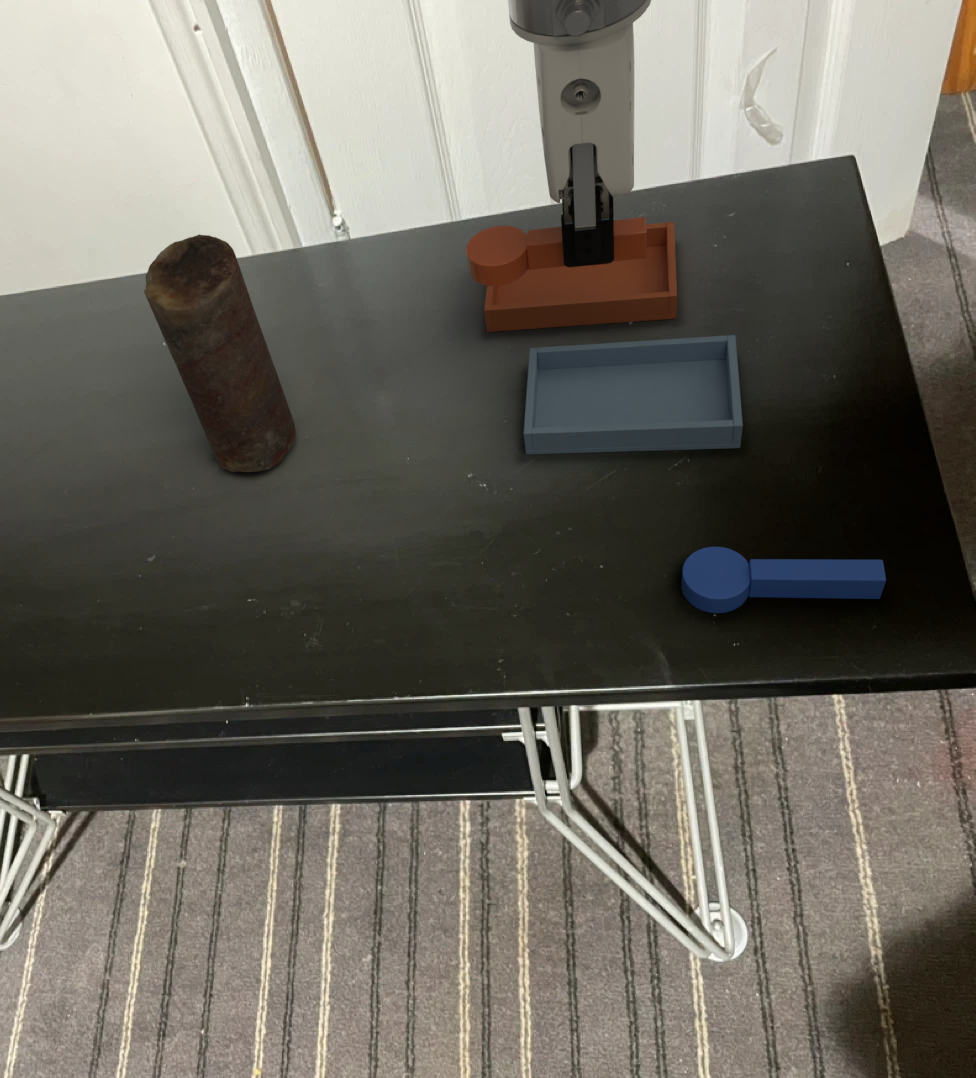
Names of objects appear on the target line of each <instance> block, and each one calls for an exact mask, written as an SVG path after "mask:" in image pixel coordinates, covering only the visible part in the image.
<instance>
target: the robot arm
mask: <svg viewBox="0 0 976 1078" xmlns="http://www.w3.org/2000/svg"><path fill="white" fill-rule="evenodd" d="M651 2H652V0H507V5H508V18H509V25H510V27H511V30H512V31H513V32H514V33H515V35H516V36H518V37H519V38H520V39H523V40H525V41H526V42H529V43H532V45H533V55H534V57H533V58H534V70H535V78H536V91H537V92H536V93H537V103H538V104H537V105H538V114H539V124H540V133H541V140H542V148H543V157H544V165H545V172H546V179H547V187H548V193H549V197H550V199H551V200H553V201H554V202H555V203H557V204H560V203H561V209H562V210H561V211H562V214H560V224H561V227H562V242H563V258H564V265H565V266H566V267H579V266H589V265H600V264H609V263H611V262H613V260H614V220H615V219H614V217H615V216H614V197H618V196H623V197H625V196H627V195H629V194H630V193H631V191H632V190H633V189H634V187H635V35H634V34H635V33H634V23H635V22H636V21H637V20H638V19H640V18H641V17H642V16H643V15H644V14H645V12H646V11H647V9H648V8H649V7H650V6H651Z"/></svg>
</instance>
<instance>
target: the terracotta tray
mask: <svg viewBox="0 0 976 1078" xmlns="http://www.w3.org/2000/svg"><path fill="white" fill-rule="evenodd" d="M646 230H647V239H646V258H643V259H633V260H623V261H613V262H611V263H609V264H600V265H589V266H579V267H566V266H563V267H553V268H543V269H533V270H529V269H528V270H527V272H526V273H525V274H524V275H523V276H522V277H521V278H519V279H518V280H516V281H514V282H511V283H509V284H505V285H500V286H487V285H486V287H485V288H486V289H485V298H484V307H483V313H484V319H485V327H486V332H487V333H492V332H505V331H506V332H507V331H521V330H534V329H548V328H549V329H550V328H561V327H562V328H563V327H565V328H566V327H577V326H578V327H579V326H591V325H606V324H620V323H622V324H623V323H635V322H636V323H637V322H648V321H662V320H663V321H664V320H676V319H677V306H678V305H677V304H678V303H677V302H678V288H677V285H678V283H677V262H676V261H677V260H676V258H677V257H676V236H675V235H676V233H675V222H674V221H668V222H657V223H646Z"/></svg>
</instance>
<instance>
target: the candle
mask: <svg viewBox="0 0 976 1078" xmlns="http://www.w3.org/2000/svg"><path fill="white" fill-rule="evenodd" d="M143 293H144V296H145V298H146V300H147V302H148V304H149V307H150V309H151V311H152V314H153V316H154V318H155V321H156V323H157V325H158V327H159V330H160V333H161V335H162V336H163V337H162V338H163V339H164V342H165V343H166V347H167V348H168V351H169V353H170V356H171V357H172V360H173V362H174V364H175V366H176V368H177V371H178V373H179V375H180V378H181V381H182V383H183V385H184V388H185V389H186V392H187V394H188V396H189V398H190V401H191V404H192V406H193V408H194V410H195V413H196V416H197V417H198V420H199V422H200V425H201V427H202V430H203V432H204V434H205V437H206V440H207V441H208V444H209V446H210V448H211V450H212V453H213V455H214V457H215V460H216V462H217V463H218V464H219V466H220V467H221V468H222V469H224V470H227V471H228V472H232V473H237V472H238V473H239V472H242V473H256V472H257V473H258V472H262V471H267V470H270V469H273V467H274V466H276V465H278V464H279V463H280V462H281V461H282V460H283V459H284V457H285V456H286V455H287V453H289V451H290V450H291V448H292V446H293V444H294V443H295V440H296V438H297V429H296V425H295V421H294V419H293V415H292V413H291V410H290V406H289V404H288V400H287V398H286V395H285V392H284V390H283V389H284V388H283V387H282V386H283V385H282V383H281V381H280V378H279V375H278V372H277V370H276V367H275V365H274V362H273V359H272V356H271V353H270V350H269V347H268V345H267V342H266V339H265V336H264V333H263V331H262V328H261V325H260V323H259V322H260V321H259V319H258V317H257V313H256V311H255V307H254V305H253V302H252V299H251V296H250V293H249V290H248V287H247V284H246V282H245V279H244V276H243V273H242V269H241V267H240V264H239V261H238V258H237V255H236V253H235V250H234V248H233V247H232V246H231V245H230V244H229V242H227V241H225V240H223V239H221V238H218V237H217V236H211V235H209V234H208V235H206V234H200V233H199V234H197V235H193V236H190V237H187V238H184V239H182V240H178V241H177V240H176V241H174V242H172V243H170V244H169V245H168V246H166V247H165V248H164V249H163V250H161V251H160V252H159V254H157V256H156V257H155V259H154V260H153V261H152V262H151V263H150V265H149V266H148V269H147V271H146V273H145V289H144V290H143Z"/></svg>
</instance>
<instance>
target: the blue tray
mask: <svg viewBox="0 0 976 1078" xmlns="http://www.w3.org/2000/svg"><path fill="white" fill-rule="evenodd" d="M528 350H529V352H528V353H529V354H528V365H527V379H526V392H525V394H526V395H525V404H524V405H525V407H524V408H525V409H524V418H523V419H524V420H523V439H524V448H525V449H524V450H525V455H528V456H529V455H554V454H555V455H556V454H558V455H559V454H589V453H590V454H591V453H621V452H626V453H627V452H657V451H658V452H659V451H688V450H689V451H690V450H719V449H720V450H721V449H722V450H723V449H726V450H727V449H741V445H742V444H741V443H742V435H743V427H744V424H743V411H742V410H743V409H742V398H741V388H740V387H741V386H740V377H739V376H740V375H739V362H738V351H737V350H738V349H737V338H736V334H728V335H715V336H714V335H713V336H698V337H697V336H696V337H695V336H694V337H683V338H681V337H680V338H665V339H664V338H663V339H651V340H634V341H618V342H604V343H603V342H602V343H589V344H572V345H558V346H557V345H556V346H541V347H529V349H528Z"/></svg>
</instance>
